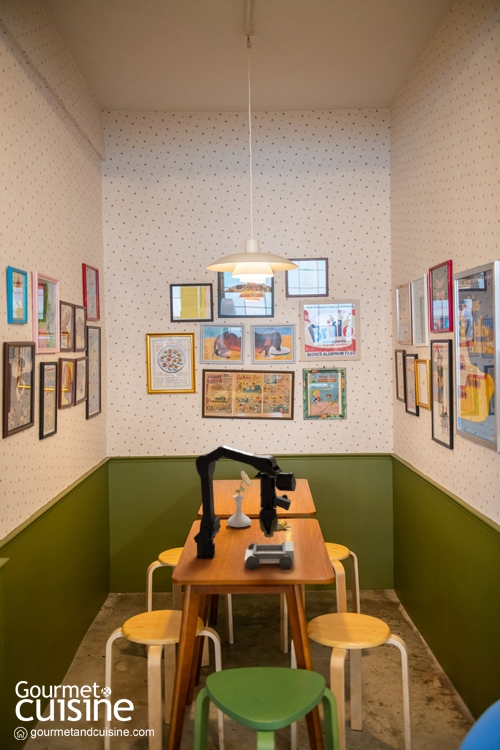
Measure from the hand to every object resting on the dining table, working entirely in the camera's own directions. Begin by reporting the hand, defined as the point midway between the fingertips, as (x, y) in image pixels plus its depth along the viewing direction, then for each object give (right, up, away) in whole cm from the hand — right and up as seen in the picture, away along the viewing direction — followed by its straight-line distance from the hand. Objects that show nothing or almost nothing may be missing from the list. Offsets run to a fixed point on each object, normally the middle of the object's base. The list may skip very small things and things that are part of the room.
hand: (268, 531), depth 248 cm
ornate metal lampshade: (0, -2, 0) cm, 2 cm away
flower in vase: (-11, -11, +55) cm, 57 cm away
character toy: (+8, -11, +47) cm, 49 cm away
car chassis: (0, -12, 0) cm, 12 cm away
